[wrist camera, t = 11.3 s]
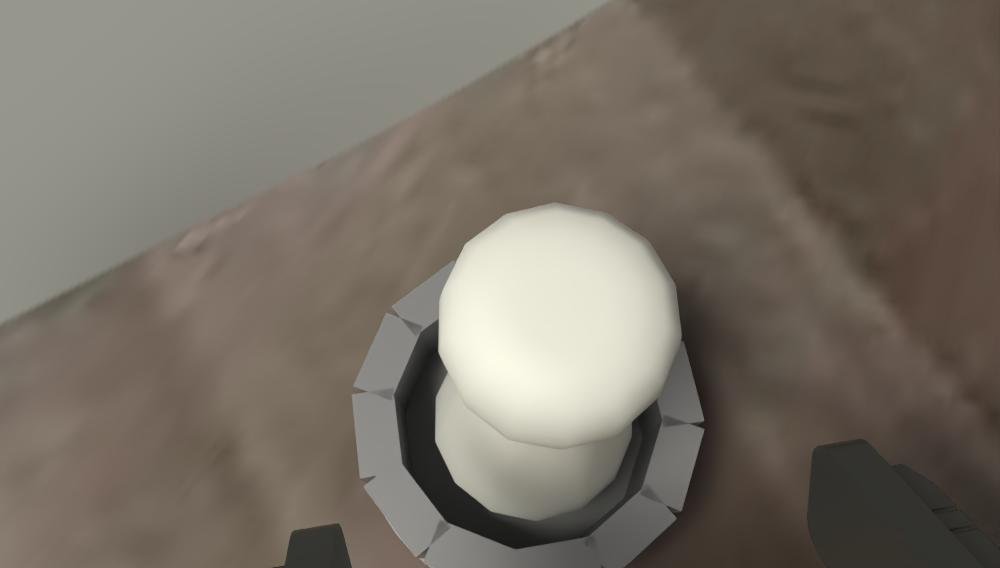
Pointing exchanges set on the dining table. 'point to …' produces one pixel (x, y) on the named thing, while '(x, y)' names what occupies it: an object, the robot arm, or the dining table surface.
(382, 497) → the bowl
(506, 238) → the salt shaker
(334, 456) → the dining table surface
